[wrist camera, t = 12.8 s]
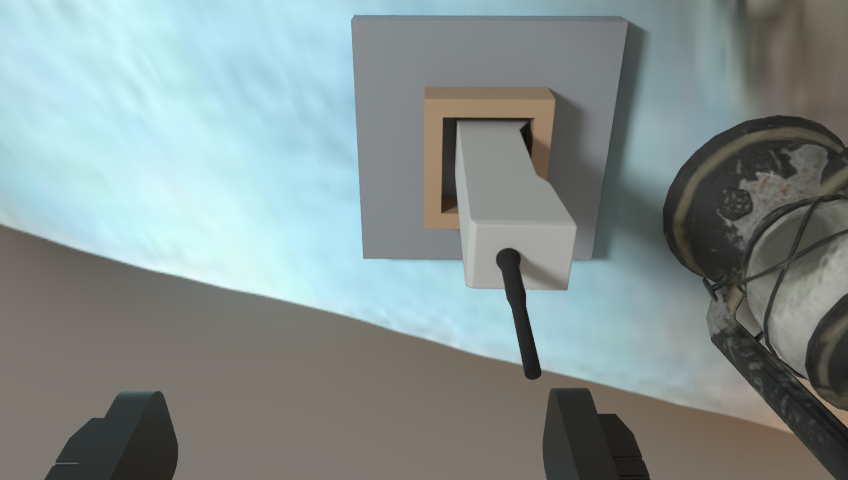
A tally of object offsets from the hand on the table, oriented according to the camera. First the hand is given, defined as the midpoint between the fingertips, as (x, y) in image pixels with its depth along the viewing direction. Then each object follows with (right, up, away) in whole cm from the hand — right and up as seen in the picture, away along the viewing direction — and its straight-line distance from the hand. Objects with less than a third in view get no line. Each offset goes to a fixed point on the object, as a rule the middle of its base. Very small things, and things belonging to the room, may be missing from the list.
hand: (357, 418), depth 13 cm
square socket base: (+6, +11, +33) cm, 36 cm away
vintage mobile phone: (+6, +11, +31) cm, 34 cm away
